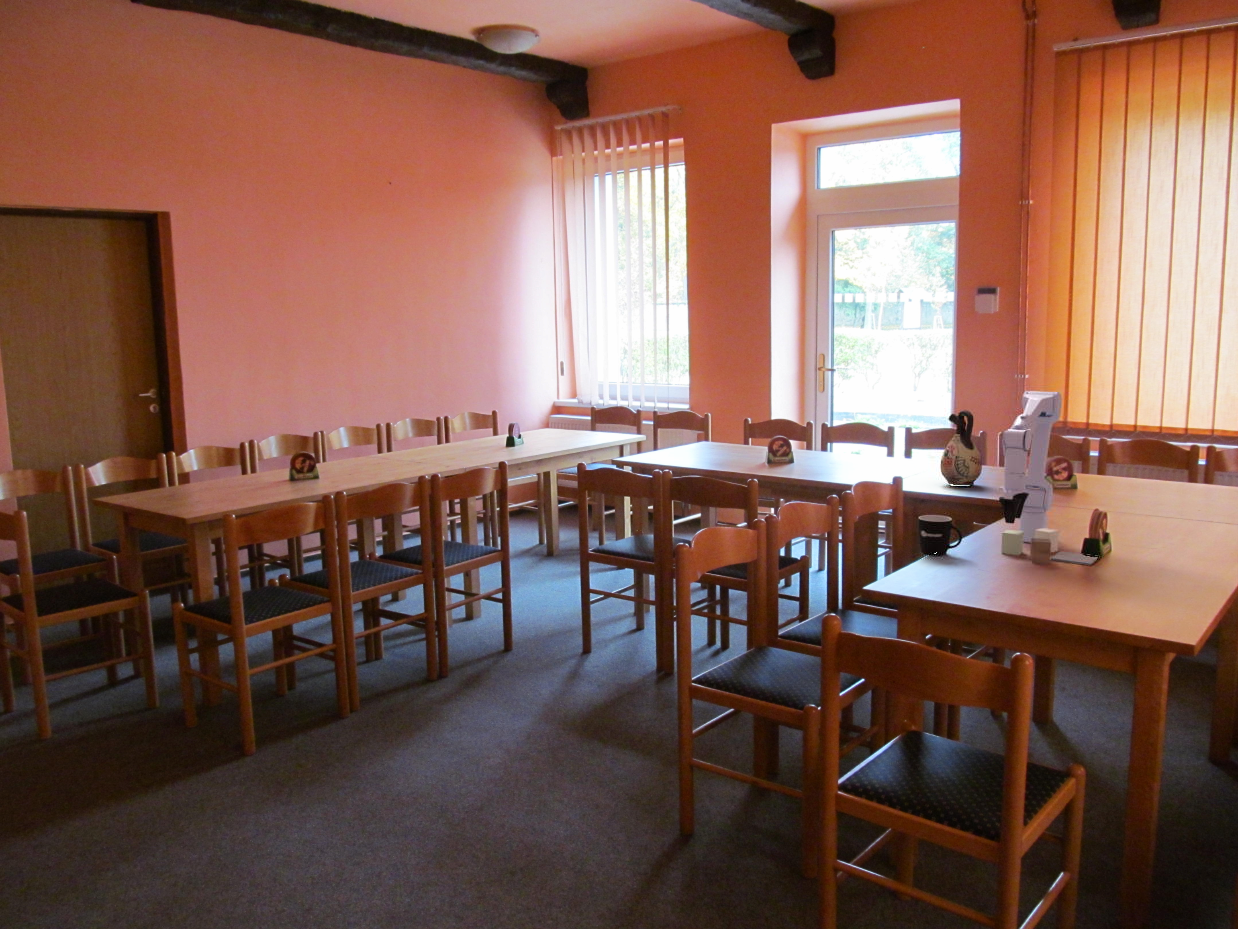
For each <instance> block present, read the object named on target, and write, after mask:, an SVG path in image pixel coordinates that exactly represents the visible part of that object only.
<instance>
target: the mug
mask: <svg viewBox="0 0 1238 929" xmlns="http://www.w3.org/2000/svg"><path fill="white" fill-rule="evenodd" d="M917 518H918V519H917V520H918V521H917V529H918V532H917V533H918V543H919V549H920V551H921V553H922V554H923V555H926V556H931V557H942V555H943V556H945V555H946V554H947V552H948V551H949V549H955V548H957V547H958V546H960V544H961V542H962V541H963V540H962V539H963V535H962V531H961V530H960V529H959V527H957V526H955V525H953V518H951V517H950V516H946V515H938V514H925V515H920V516H918V517H917ZM952 529H953V530H955V531H956V533H958V538H959V539H958V541H957V543H956V544H954V545H953V544H952V545H950V542H951V541H950V540H951V535H952ZM936 552H937V553H936ZM934 553H936V554H934Z"/></svg>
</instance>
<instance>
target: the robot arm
mask: <svg viewBox="0 0 1238 929" xmlns="http://www.w3.org/2000/svg"><path fill="white" fill-rule="evenodd" d="M1062 403H1063V399H1062V394H1061V393H1060V391H1041V390H1040V391H1039V390H1038V391H1035V390H1026V391H1025V392H1024V393H1023V394H1022V399H1021V405H1022V410H1023V412H1022V414H1019V415H1018V416H1017V417H1016V418H1015V419H1014V422H1013V423H1012V425H1011V426H1010V428H1008V429H1007V430H1004V432H1003V434H1002V439H1001V441H1002V442H1001V443H1002V444H1001V445H1002V452H1003V453H1002V455H1003V456H1004V468H1003V469H1004V470H1003V486H999V487H998V490H999V491H1002V492H1004V496H1000V497H999V498H998V500H999V503H1000V505H1001V508H1002V510H1003V517H1004V521H1005V524H1015V522H1016V519H1018V528H1017V529H1018V530H1017V531H1022V532H1024V536H1023V543H1030V544H1031V538H1035V530H1037V529H1041V528H1048V515H1047V512H1048V511H1049V510H1051V509H1052V506H1053V502H1054V496H1053V494H1054V487H1053V485H1052V484H1051V483H1050V482H1049V481H1048V480H1047V479H1046V478H1045V477H1046V476H1045V475H1046V467H1047V461H1048V452H1049V447H1050V446H1049V445H1050V438H1051V432H1052V427H1053V424H1055V423H1057V422H1059V420H1060V417H1061V413H1062V412H1061V410H1062ZM1029 450H1030V452H1029V453H1030V454H1029V461H1028V451H1029ZM1027 464H1028V467H1027Z"/></svg>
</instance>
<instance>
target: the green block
mask: <svg viewBox="0 0 1238 929" xmlns="http://www.w3.org/2000/svg"><path fill="white" fill-rule="evenodd" d="M1001 534H1002V535H1001V554H1002V553H1005V554H1004V555H1010V554H1012V555H1013V556H1017V557H1018V556H1019V555H1021V554H1023V553H1022V552H1024V542H1023V536H1024V532H1022V531H1018V530H1011V529H1006V530H1005V531H1003V532H1001ZM1012 555H1011V556H1012Z"/></svg>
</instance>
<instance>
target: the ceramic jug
mask: <svg viewBox="0 0 1238 929" xmlns="http://www.w3.org/2000/svg"><path fill="white" fill-rule="evenodd" d="M965 417H966V418H965ZM948 421H950V423H953V424H954V425H955V426H956V431H955V433H954V435H953V437H952V438H951V439H950V441H949V442H948V444H947V446H946V447H945V448H944V451H943V453H942V456H941V460H940V464H939V465H940V472H941V475H942V477H944V479H945V480H946V482H947V483H948V485H949V484H953V485H974V486H975V482H976V481H977V480H978V478H979V477H980V475H981V474H982V470H983V469H982V468H983V464H982V458H981V454H980V452H979V450H978V448H977V446H976V444H975V443H974V442H973V441H972V439H971V436H972V434H973V433H972V432H973V427H974V421H975V420H974V415H973V414H972V412H971V411H969V410H966V409H965V410H961V411H959V412H958V414H957V415H956V414H955V413H951V414H950V415H949V417H948Z"/></svg>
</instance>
